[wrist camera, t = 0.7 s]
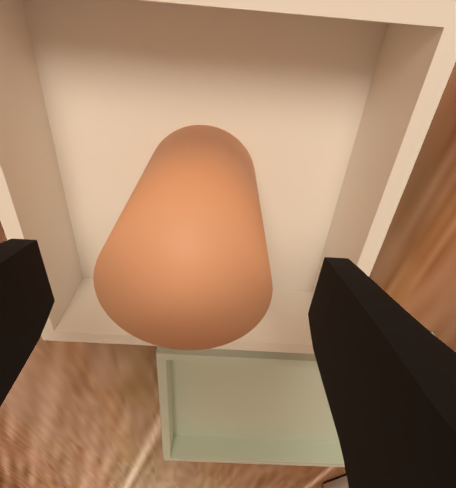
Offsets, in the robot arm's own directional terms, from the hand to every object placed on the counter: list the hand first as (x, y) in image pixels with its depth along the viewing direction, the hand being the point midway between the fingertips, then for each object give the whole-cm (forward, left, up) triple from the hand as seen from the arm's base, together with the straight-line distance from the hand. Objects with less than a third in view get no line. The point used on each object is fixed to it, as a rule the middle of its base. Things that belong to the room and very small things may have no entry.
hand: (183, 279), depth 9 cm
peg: (0, 0, -7) cm, 7 cm away
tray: (-6, +15, -7) cm, 18 cm away
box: (0, 0, -7) cm, 7 cm away
